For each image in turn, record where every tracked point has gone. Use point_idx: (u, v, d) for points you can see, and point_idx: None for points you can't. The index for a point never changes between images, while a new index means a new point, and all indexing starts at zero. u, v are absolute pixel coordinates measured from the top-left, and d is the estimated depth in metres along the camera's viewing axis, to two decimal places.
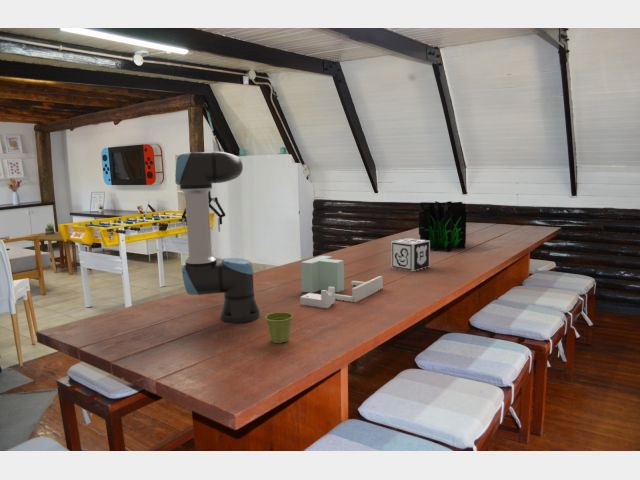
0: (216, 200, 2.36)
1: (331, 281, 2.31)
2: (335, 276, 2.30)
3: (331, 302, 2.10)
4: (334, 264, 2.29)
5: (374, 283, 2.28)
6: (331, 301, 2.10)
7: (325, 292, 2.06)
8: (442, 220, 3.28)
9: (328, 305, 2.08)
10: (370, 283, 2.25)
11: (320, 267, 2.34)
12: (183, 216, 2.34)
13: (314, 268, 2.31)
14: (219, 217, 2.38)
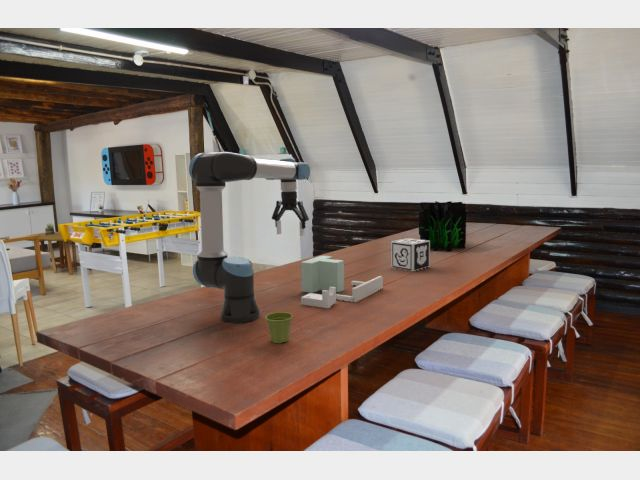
0: (298, 204, 2.36)
1: (331, 281, 2.31)
2: (335, 276, 2.30)
3: (332, 302, 2.10)
4: (334, 264, 2.29)
5: (374, 283, 2.28)
6: (332, 301, 2.10)
7: (326, 292, 2.06)
8: (442, 220, 3.28)
9: (329, 305, 2.08)
10: (370, 283, 2.25)
11: (320, 267, 2.34)
12: (272, 217, 2.45)
13: (314, 268, 2.31)
14: None
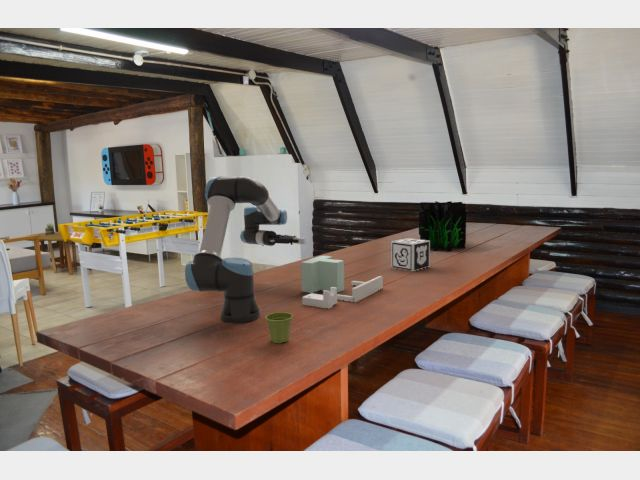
0: (286, 235, 2.53)
1: (331, 281, 2.31)
2: (335, 276, 2.30)
3: (333, 302, 2.09)
4: (334, 264, 2.29)
5: (374, 283, 2.28)
6: (333, 301, 2.09)
7: (327, 292, 2.05)
8: (442, 220, 3.28)
9: (330, 305, 2.07)
10: (370, 283, 2.25)
11: (320, 267, 2.34)
12: (287, 238, 2.42)
13: (314, 268, 2.31)
14: None
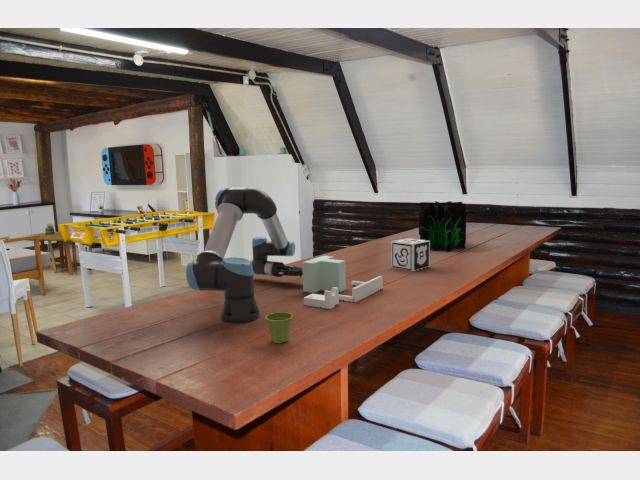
0: (294, 266, 2.53)
1: (333, 281, 2.31)
2: (337, 276, 2.29)
3: (335, 303, 2.09)
4: (336, 265, 2.29)
5: (374, 283, 2.28)
6: (335, 302, 2.09)
7: (329, 293, 2.05)
8: (442, 220, 3.28)
9: (332, 306, 2.07)
10: (370, 283, 2.25)
11: (322, 267, 2.33)
12: (296, 271, 2.43)
13: (316, 268, 2.31)
14: (302, 270, 2.45)
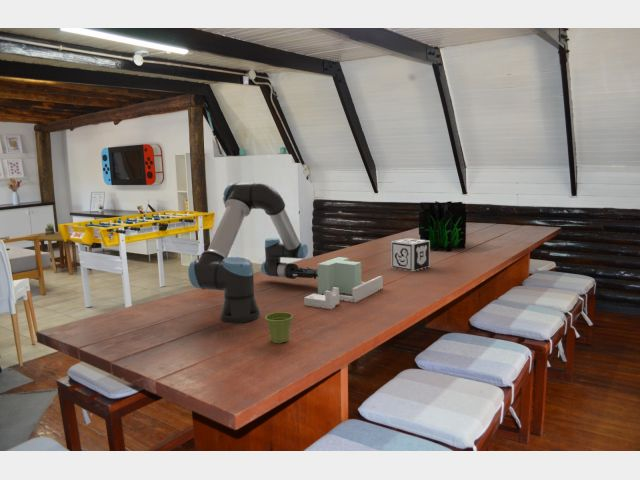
0: (308, 268, 2.49)
1: (349, 283, 2.26)
2: (353, 278, 2.25)
3: (335, 303, 2.09)
4: (352, 267, 2.24)
5: (374, 283, 2.28)
6: (335, 302, 2.09)
7: (329, 293, 2.05)
8: (442, 220, 3.28)
9: (332, 306, 2.07)
10: (370, 283, 2.25)
11: (337, 269, 2.29)
12: (310, 272, 2.38)
13: (331, 270, 2.26)
14: None
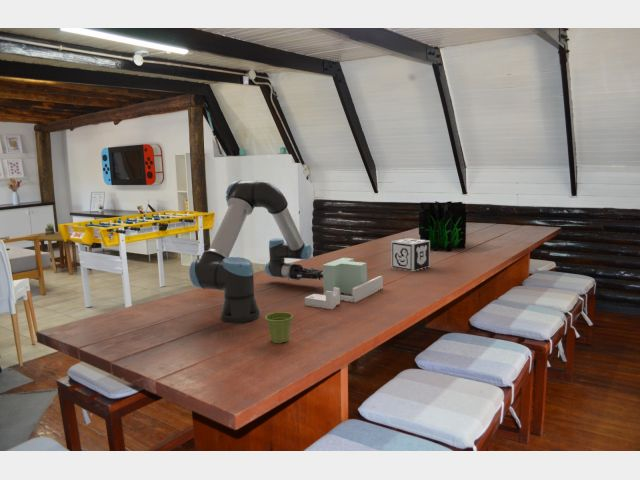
0: (312, 268, 2.47)
1: (354, 284, 2.24)
2: (358, 279, 2.23)
3: (336, 303, 2.09)
4: (358, 267, 2.22)
5: (374, 283, 2.28)
6: (336, 302, 2.08)
7: (330, 293, 2.05)
8: (442, 220, 3.28)
9: (333, 306, 2.06)
10: (370, 283, 2.25)
11: (342, 270, 2.27)
12: (315, 273, 2.36)
13: (337, 271, 2.24)
14: (321, 273, 2.38)
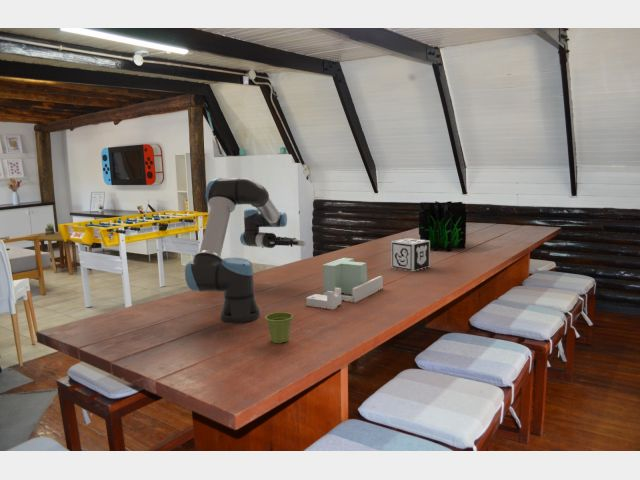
0: (285, 237, 2.53)
1: (354, 284, 2.24)
2: (358, 279, 2.23)
3: (337, 303, 2.08)
4: (358, 267, 2.22)
5: (374, 283, 2.28)
6: (337, 302, 2.08)
7: (331, 293, 2.04)
8: (442, 220, 3.28)
9: (334, 306, 2.06)
10: (370, 283, 2.25)
11: (342, 270, 2.27)
12: (287, 240, 2.42)
13: (337, 271, 2.24)
14: None
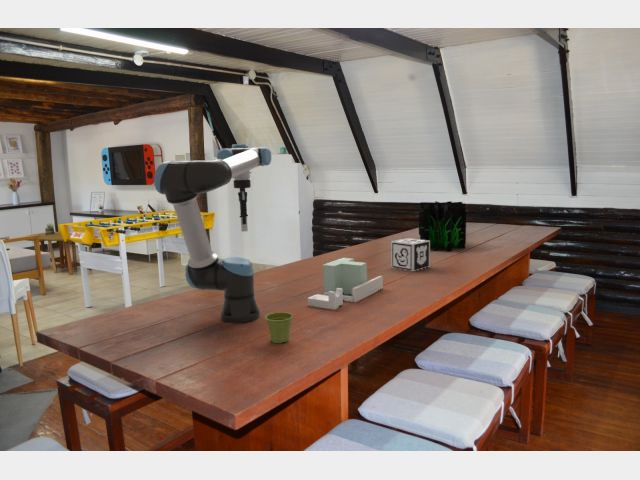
0: (240, 198, 2.21)
1: (354, 284, 2.24)
2: (358, 279, 2.23)
3: (339, 304, 2.08)
4: (358, 267, 2.22)
5: (374, 283, 2.28)
6: (339, 303, 2.07)
7: (332, 293, 2.04)
8: (442, 220, 3.28)
9: (335, 307, 2.06)
10: (370, 283, 2.25)
11: (342, 270, 2.27)
12: None
13: (337, 271, 2.24)
14: None
